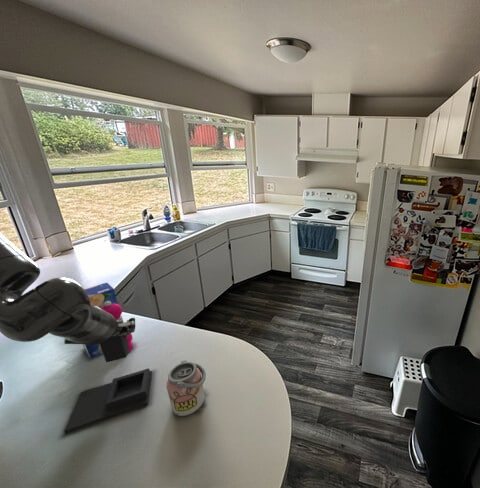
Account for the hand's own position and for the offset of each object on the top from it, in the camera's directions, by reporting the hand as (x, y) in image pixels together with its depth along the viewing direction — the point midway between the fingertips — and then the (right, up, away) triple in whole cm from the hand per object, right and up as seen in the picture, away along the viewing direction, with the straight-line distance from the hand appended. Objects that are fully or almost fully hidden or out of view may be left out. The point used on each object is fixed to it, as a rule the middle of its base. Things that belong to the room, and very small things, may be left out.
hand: (115, 335), depth 69 cm
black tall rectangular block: (+1, -5, 0) cm, 5 cm away
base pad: (-1, -19, +1) cm, 19 cm away
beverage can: (+21, -20, +1) cm, 29 cm away
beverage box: (-20, -11, +20) cm, 30 cm away
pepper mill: (-13, -12, +18) cm, 25 cm away
